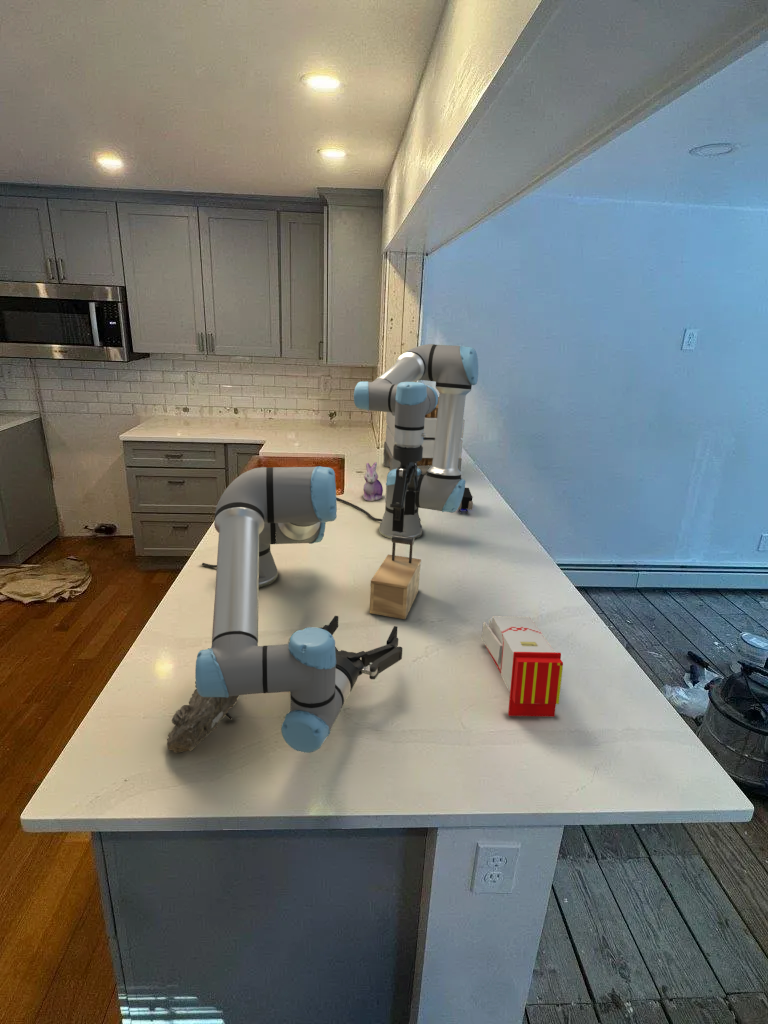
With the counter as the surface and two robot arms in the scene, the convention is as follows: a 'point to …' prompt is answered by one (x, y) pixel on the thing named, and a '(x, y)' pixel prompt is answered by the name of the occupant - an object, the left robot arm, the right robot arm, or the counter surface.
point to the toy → (525, 665)
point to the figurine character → (466, 501)
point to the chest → (393, 598)
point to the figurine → (372, 484)
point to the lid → (397, 566)
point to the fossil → (197, 720)
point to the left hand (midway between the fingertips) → (365, 626)
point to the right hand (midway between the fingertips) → (403, 522)
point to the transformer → (427, 444)
